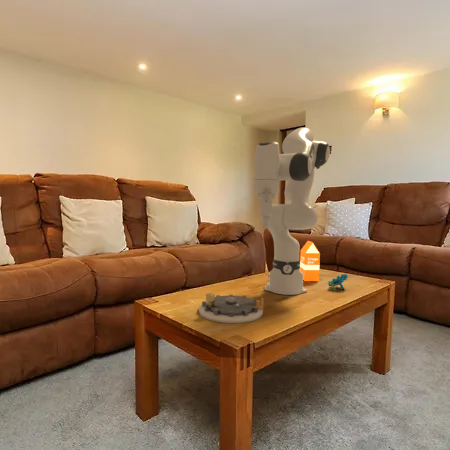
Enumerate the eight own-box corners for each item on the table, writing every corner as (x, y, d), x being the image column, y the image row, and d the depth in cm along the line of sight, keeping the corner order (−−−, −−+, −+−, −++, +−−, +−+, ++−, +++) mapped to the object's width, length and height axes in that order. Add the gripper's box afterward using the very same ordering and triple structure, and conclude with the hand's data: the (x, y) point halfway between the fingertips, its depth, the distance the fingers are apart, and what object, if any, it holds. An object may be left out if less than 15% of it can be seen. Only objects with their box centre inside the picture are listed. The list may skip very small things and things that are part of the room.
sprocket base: (204, 300, 132) (204, 286, 132) (262, 303, 130) (263, 289, 130) (193, 321, 109) (193, 304, 109) (263, 325, 107) (264, 308, 107)
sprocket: (190, 309, 116) (190, 293, 115) (221, 295, 134) (221, 281, 133) (243, 321, 105) (243, 304, 105) (269, 304, 123) (269, 289, 123)
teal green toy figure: (340, 282, 162) (350, 270, 154) (347, 292, 158) (357, 281, 151) (322, 286, 157) (331, 275, 150) (328, 297, 154) (338, 286, 147)
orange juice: (313, 277, 177) (315, 240, 176) (319, 281, 168) (320, 242, 167) (299, 277, 177) (300, 240, 175) (303, 281, 168) (305, 242, 167)
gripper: (276, 187, 105) (275, 231, 106) (274, 189, 125) (273, 226, 126) (256, 187, 105) (255, 230, 106) (257, 189, 126) (256, 225, 127)
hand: (265, 228), depth 116 cm, fingers closed
